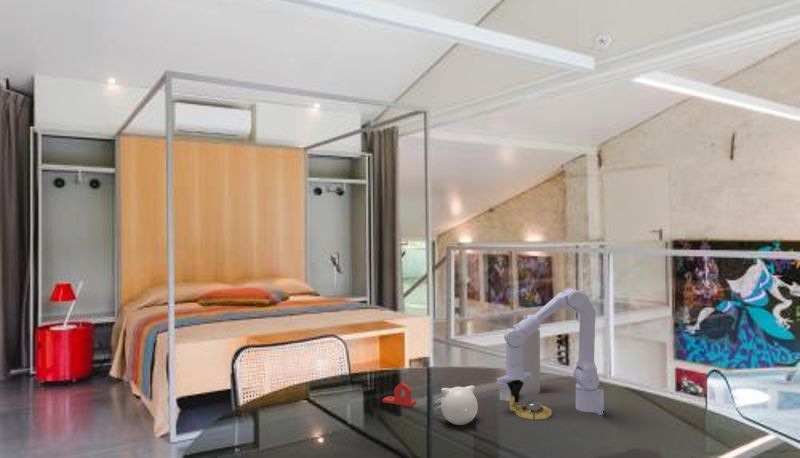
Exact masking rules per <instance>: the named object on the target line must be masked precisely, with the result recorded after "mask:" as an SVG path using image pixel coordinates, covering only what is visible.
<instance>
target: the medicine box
mask: <svg viewBox="0 0 800 458" xmlns="http://www.w3.org/2000/svg"><path fill="white" fill-rule="evenodd" d="M498 385H499V400H501V401H506V402H510V395H511V391H510V389H509V387H508V385H507V383H503V384H502V385H500V384H498Z"/></svg>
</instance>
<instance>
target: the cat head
mask: <svg viewBox="0 0 800 458" xmlns="http://www.w3.org/2000/svg"><path fill="white" fill-rule="evenodd" d="M475 389H476V387H475V385H468V386H454V387H450V388H449V387H442V388H441V389H440V392H441V393H442V397H440V398H439V399H436V400H435V401H436V402H435V404H436V403H440V405H439V406H438V407H436V408H435V410H436V409H439V408H441V413H442V415H443V416H444V418H445V419H446V420H447V421H448V422H449V423H451V424H453V425H456V426H463V425H467V424H469V423H471V422H472V421H473V420H474V419H475V418H476V416H477V413H478V410H479V409H478V408H479V405H478V404H479V403H478V400H477V397H476V396H475V394H474V392H475Z"/></svg>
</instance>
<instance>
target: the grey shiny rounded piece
mask: <svg viewBox="0 0 800 458" xmlns="http://www.w3.org/2000/svg"><path fill="white" fill-rule="evenodd" d="M540 403H541V402H539V401H538V400H537V401H536V400H528V401H525V404H526V410H531V413H539V412H541V411H540Z"/></svg>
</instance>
